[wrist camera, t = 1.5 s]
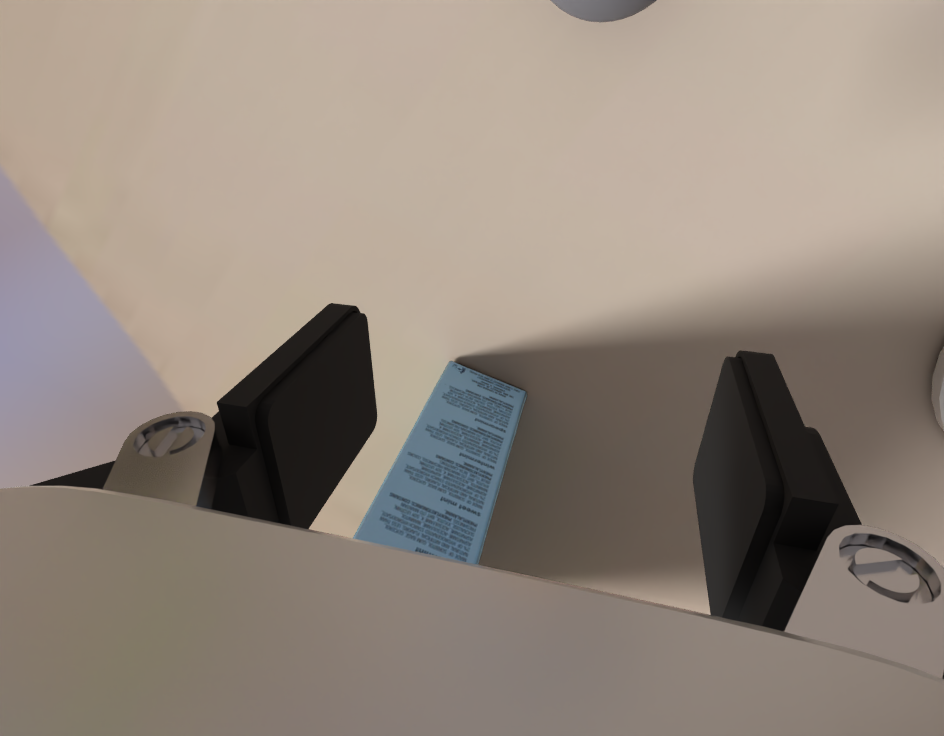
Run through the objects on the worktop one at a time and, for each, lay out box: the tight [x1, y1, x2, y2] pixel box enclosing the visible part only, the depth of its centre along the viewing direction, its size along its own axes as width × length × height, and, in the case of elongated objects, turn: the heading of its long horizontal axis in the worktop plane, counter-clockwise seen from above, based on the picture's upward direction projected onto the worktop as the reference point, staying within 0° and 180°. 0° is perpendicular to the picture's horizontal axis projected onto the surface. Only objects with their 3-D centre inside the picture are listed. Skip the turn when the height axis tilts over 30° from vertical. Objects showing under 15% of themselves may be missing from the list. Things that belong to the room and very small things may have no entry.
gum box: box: [353, 361, 527, 565], centre depth 26 cm, size 20×5×23 cm, turn 164°
